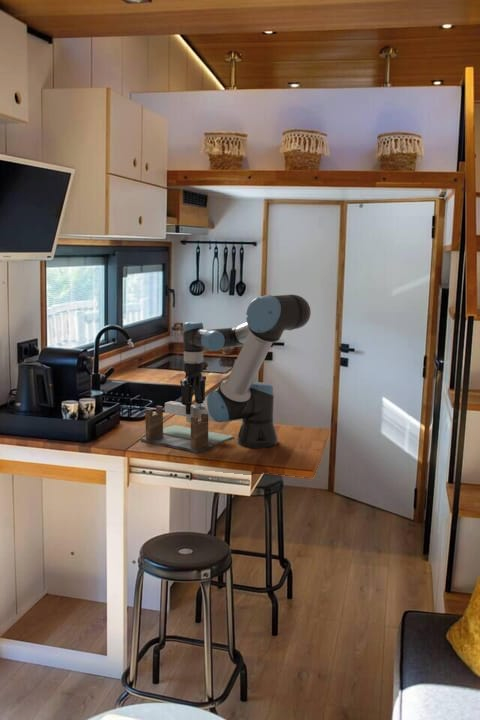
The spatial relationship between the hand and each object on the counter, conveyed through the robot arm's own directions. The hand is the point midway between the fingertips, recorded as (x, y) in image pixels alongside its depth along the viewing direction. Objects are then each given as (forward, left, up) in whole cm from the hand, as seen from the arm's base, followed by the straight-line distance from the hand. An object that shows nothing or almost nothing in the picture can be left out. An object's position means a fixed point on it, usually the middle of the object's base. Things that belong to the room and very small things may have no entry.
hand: (193, 420), depth 272 cm
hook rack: (-3, +14, -6) cm, 16 cm away
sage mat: (0, 0, -6) cm, 6 cm away
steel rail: (0, 0, +2) cm, 2 cm away
